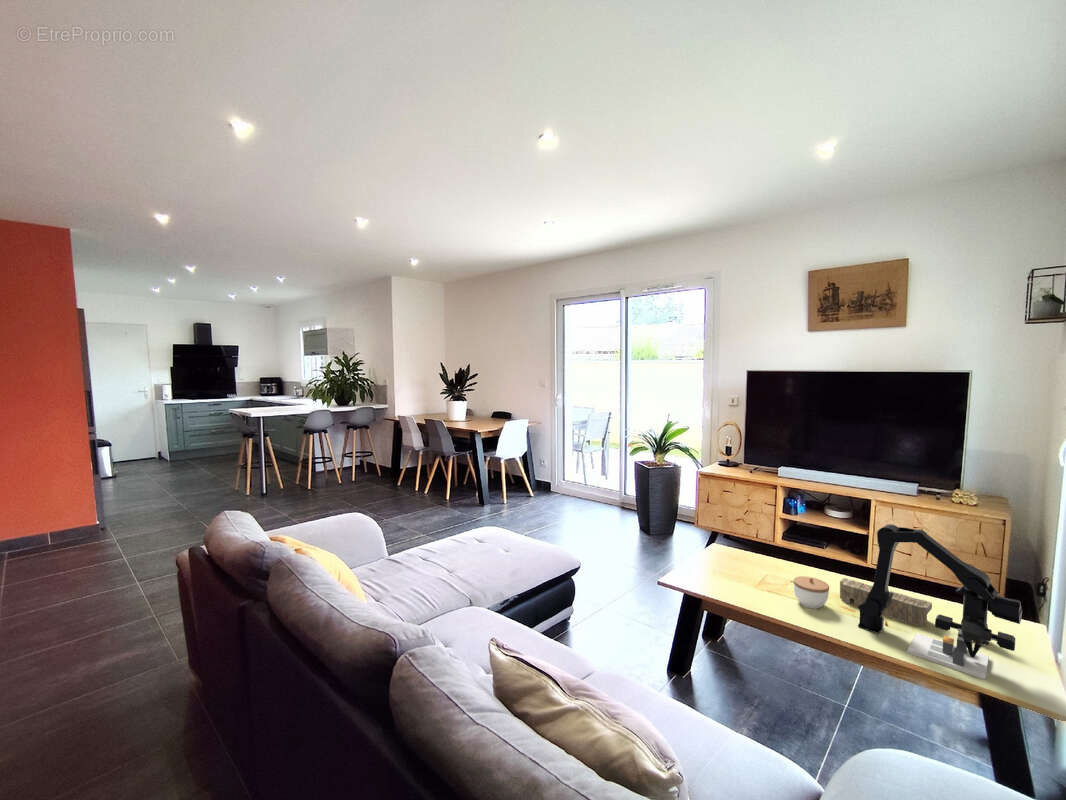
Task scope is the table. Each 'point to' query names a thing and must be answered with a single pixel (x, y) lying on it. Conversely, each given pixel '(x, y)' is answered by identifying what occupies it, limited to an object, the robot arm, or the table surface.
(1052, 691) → the table surface
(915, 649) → the panel
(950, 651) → the block
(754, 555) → the table surface
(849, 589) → the block tower
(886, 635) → the table surface
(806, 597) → the lidded bowl
